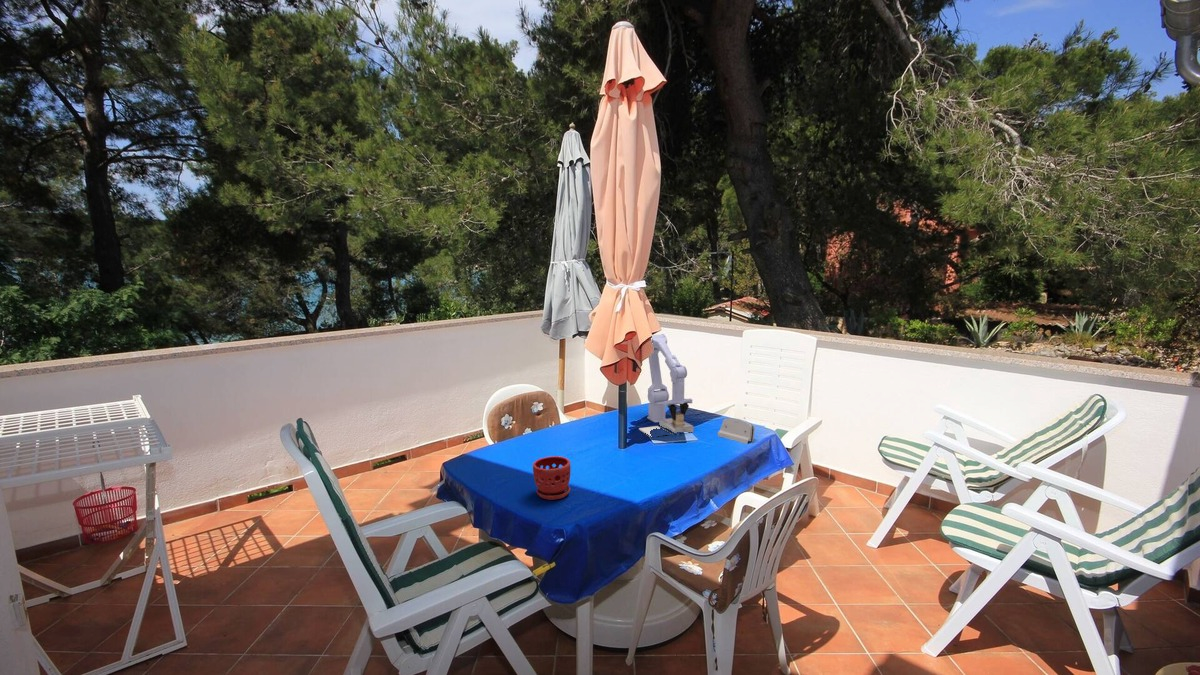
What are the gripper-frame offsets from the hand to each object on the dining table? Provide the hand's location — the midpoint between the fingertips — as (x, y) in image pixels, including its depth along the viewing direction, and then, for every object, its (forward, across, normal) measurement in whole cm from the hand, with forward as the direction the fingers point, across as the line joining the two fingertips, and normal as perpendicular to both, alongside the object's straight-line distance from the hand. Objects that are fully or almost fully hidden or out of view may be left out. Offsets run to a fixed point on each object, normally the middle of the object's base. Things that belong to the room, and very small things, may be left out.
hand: (678, 419), depth 265 cm
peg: (+4, 0, 0) cm, 4 cm away
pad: (+6, -12, +1) cm, 13 cm away
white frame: (+6, 0, +2) cm, 6 cm away
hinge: (+6, +19, -21) cm, 29 cm away
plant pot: (+6, -77, -49) cm, 92 cm away
